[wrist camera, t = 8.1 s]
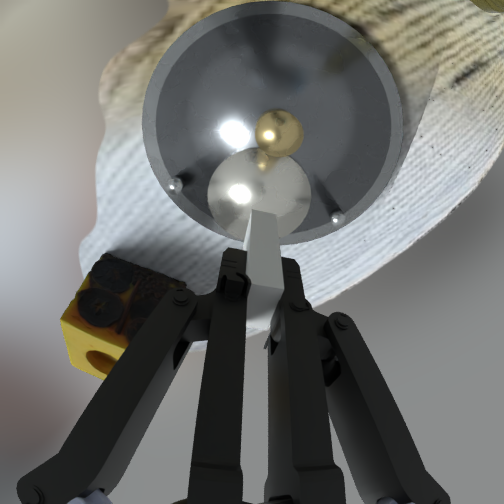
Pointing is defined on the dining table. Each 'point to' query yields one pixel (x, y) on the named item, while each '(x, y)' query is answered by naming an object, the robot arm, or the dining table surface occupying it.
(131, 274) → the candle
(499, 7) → the gold pawn
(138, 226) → the dining table surface
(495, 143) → the dining table surface
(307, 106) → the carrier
